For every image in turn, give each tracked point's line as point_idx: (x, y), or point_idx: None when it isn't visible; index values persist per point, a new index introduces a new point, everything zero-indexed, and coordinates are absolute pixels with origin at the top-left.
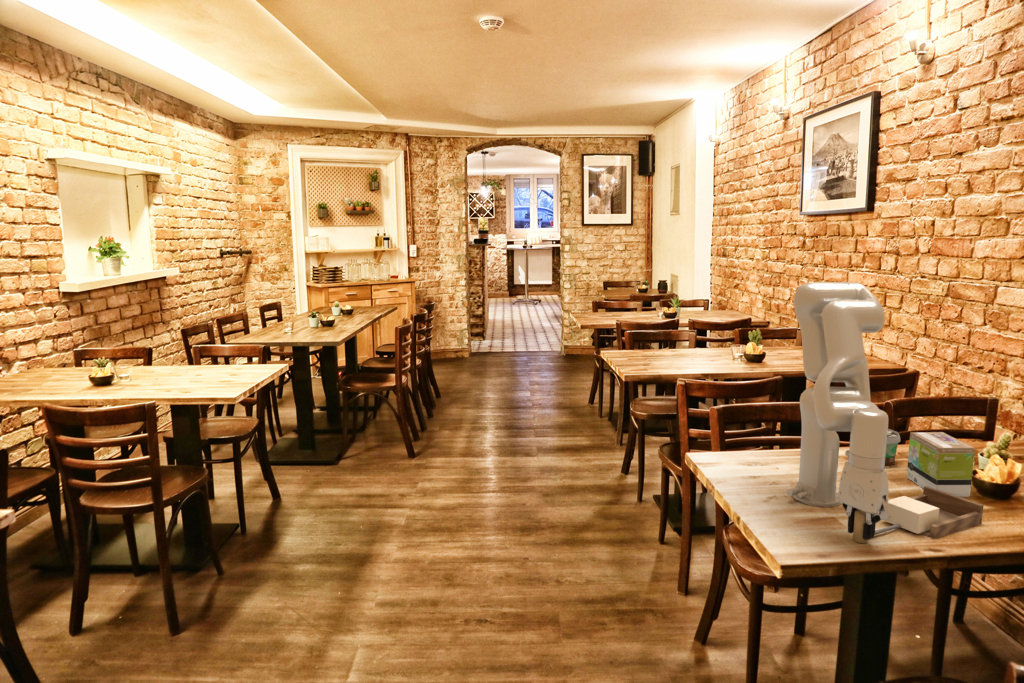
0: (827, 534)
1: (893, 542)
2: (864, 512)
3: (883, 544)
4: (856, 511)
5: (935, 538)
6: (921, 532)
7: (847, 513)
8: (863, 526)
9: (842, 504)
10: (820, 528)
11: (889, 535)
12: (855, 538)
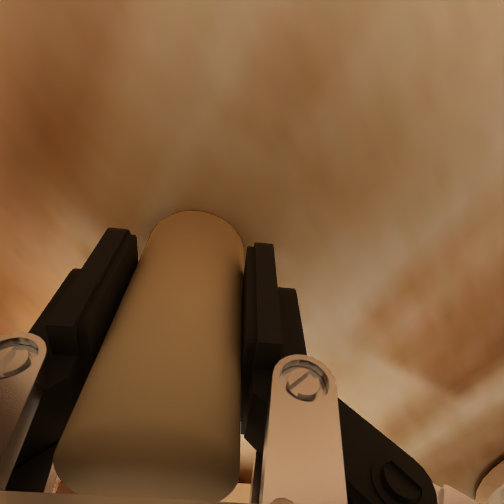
0: (406, 165)
1: None
2: (130, 480)
3: None
4: (203, 449)
5: (61, 485)
6: None
7: (317, 381)
8: (121, 312)
9: (436, 485)
10: (483, 216)
11: None
12: (201, 222)
